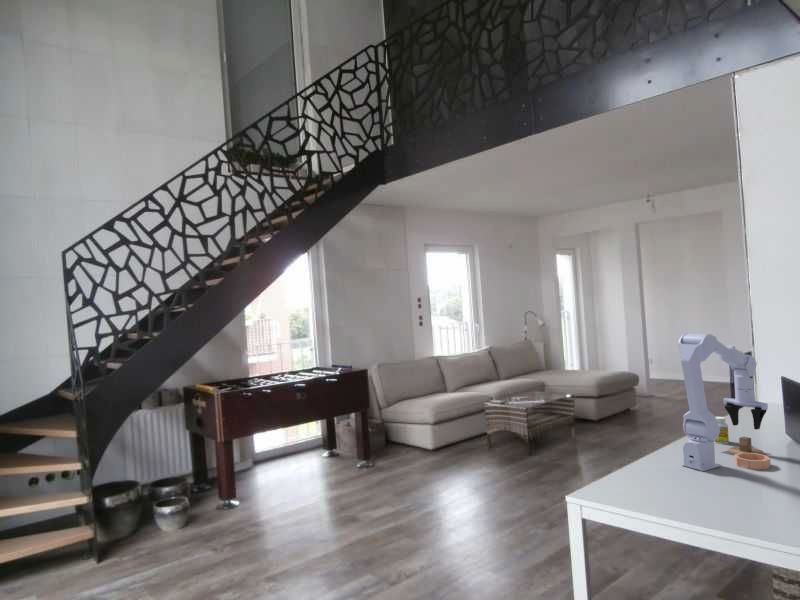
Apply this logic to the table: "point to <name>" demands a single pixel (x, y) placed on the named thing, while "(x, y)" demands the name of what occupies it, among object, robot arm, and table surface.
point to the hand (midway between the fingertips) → (746, 426)
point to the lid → (744, 447)
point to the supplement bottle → (722, 431)
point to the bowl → (752, 461)
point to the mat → (731, 454)
